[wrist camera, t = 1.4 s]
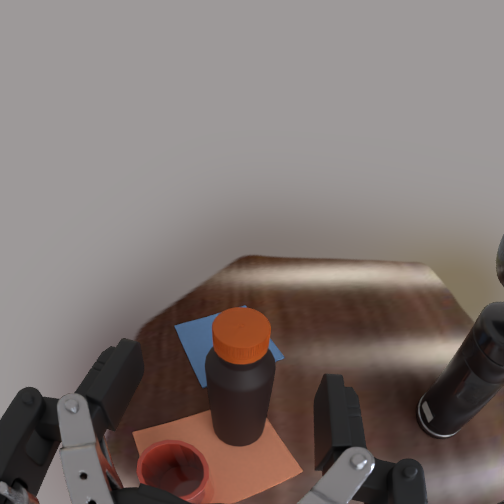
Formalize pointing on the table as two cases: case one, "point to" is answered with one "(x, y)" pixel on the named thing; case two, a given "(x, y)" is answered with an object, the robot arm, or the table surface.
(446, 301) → the table surface
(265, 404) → the bottle
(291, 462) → the terracotta mat
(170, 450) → the red cup
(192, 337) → the blue mat
